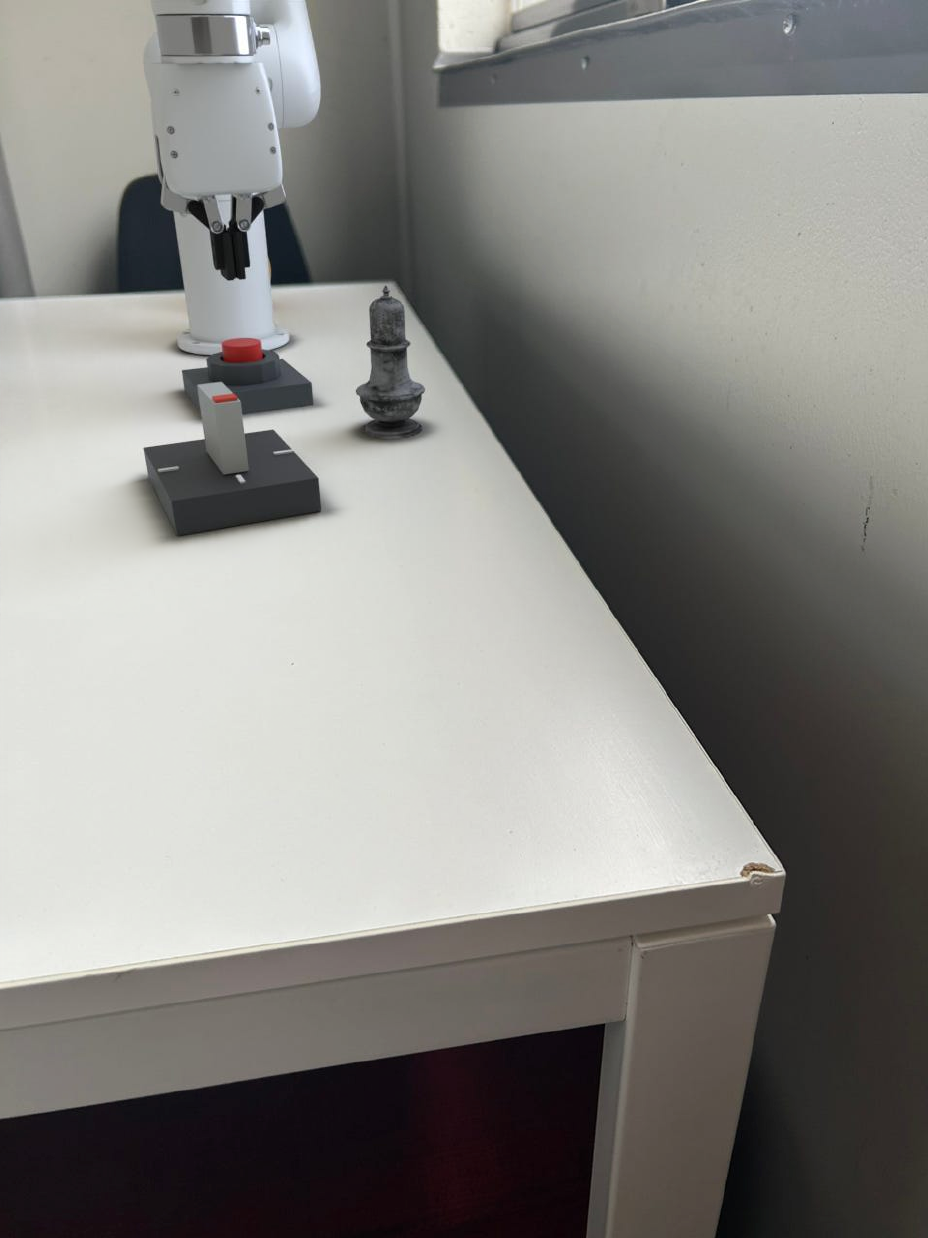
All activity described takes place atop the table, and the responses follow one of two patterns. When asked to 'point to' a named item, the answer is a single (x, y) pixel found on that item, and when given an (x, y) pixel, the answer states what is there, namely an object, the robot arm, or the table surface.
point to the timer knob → (223, 427)
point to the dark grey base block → (231, 484)
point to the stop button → (242, 350)
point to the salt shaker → (389, 374)
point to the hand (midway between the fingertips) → (233, 276)
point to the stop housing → (253, 382)
